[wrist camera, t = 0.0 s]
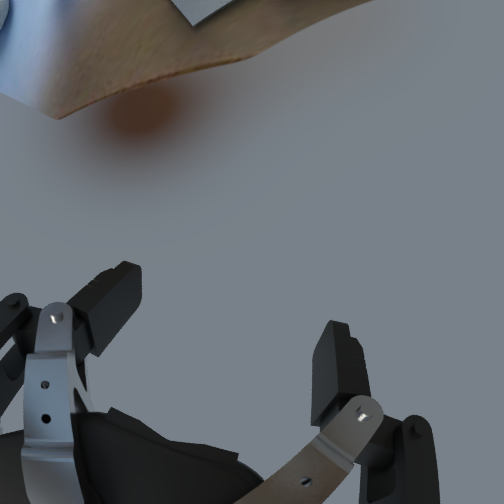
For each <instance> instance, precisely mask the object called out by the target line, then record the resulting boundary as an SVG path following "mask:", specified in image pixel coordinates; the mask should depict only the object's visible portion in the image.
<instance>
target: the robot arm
mask: <svg viewBox="0 0 504 504" xmlns="http://www.w3.org/2000/svg"><path fill="white" fill-rule="evenodd" d="M141 299H142V271H141V267H140V266H139V265H136V264H133V263H130V262H127V261H123V262H121V263H120V264H119V265H118V266H117V267H115V269H112V268H111V269H108V270H106V271H103V272H101V273H100V274H99V275H97V276H96V277H95V278H94V280H92V281H90V282H89V283H88V285H86V286H85V287H83V288H82V289H81V290H80V291H79V292H78V293H77V294H76V295H74V296H73V297H72V298H71V299H70V300H69V301H68V302H67V303H62V302H54V303H51V304H48V305H47V306H45V307H44V308H43V309H41V308H36V307H32V306H29V303H28V300H27V297H26V296H25V295H24V294H21V293H13V294H10V295H8V296H6V297H5V298H4V299H3V300H2V301H0V349H1V348H2V347H3V346H4V345H5V343H6V342H7V341H8V340H9V339H10V338H11V337H12V338H13V340H14V342H15V344H14V345H13V346H12V348H11V349H10V350H9V351H8V352H7V353H6V355H5V356H4V357H3V358H2V360H1V361H0V418H1V416H2V415H3V413H4V411H5V410H6V408H7V407H8V405H9V404H10V402H11V401H12V399H13V398H14V397H15V395H16V394H17V392H18V391H19V389H20V388H21V387H22V385H23V384H24V398H23V399H24V400H23V419H24V420H23V421H24V429H23V430H19V431H15V432H10V433H6V434H2V432H3V429H2V426H1V425H0V504H322V503H323V502H324V501H325V500H326V499H327V498H328V497H329V496H330V495H331V493H332V492H333V491H334V490H335V489H336V488H337V487H338V486H339V484H340V483H341V482H342V481H343V480H344V479H345V477H346V476H347V475H348V474H349V473H350V471H351V470H352V469H353V467H354V464H353V462H354V463H357V464H360V465H361V477H360V494H359V504H440V492H439V480H438V469H437V460H436V453H435V446H434V440H433V434H432V429H431V427H430V424H429V423H428V421H426V420H425V419H424V418H423V417H421V416H418V415H411V416H409V417H407V418H406V419H405V420H404V421H400V420H397V419H394V418H391V417H389V416H386V415H384V414H383V410H382V408H381V406H380V405H379V403H378V402H377V401H376V400H375V399H373V398H371V393H370V386H369V380H368V374H367V369H366V364H365V360H364V353H363V348H362V346H361V345H360V343H359V342H358V340H357V339H356V338H353V337H351V336H350V331H349V326H348V324H346V323H342V322H337V321H332V320H330V321H329V322H328V323H327V325H326V327H325V329H324V332H323V333H322V335H321V337H320V339H319V341H318V343H317V345H316V347H315V350H314V354H313V360H312V361H313V362H312V364H313V366H312V409H311V426H319V427H320V433H319V434H318V435H317V436H316V437H315V438H314V439H313V440H312V441H311V442H310V443H309V444H308V445H306V446H305V447H304V448H303V449H302V450H301V451H300V452H299V453H298V454H297V455H296V456H295V457H293V458H292V459H291V460H290V461H289V462H288V463H286V464H285V465H284V466H283V467H282V468H281V469H279V470H278V471H277V472H276V473H274V474H273V475H272V476H271V477H269V478H268V479H267V480H265V481H264V480H263V478H262V477H261V476H260V475H259V474H258V473H257V472H255V471H254V470H253V469H251V468H250V467H248V466H247V465H245V464H243V463H241V462H239V461H237V459H238V455H239V453H235V452H231V451H227V450H223V449H219V448H216V447H212V446H209V445H205V444H194V443H185V442H176V441H170V440H167V439H165V438H164V437H162V436H161V435H159V434H158V433H156V432H155V431H153V430H152V429H151V428H149V427H148V426H146V425H145V424H144V423H142V422H141V421H140V420H138V419H135V418H133V417H131V416H129V415H127V414H124V413H123V412H121V411H119V410H117V409H115V408H113V407H111V408H110V410H109V411H108V413H102V412H94V408H93V405H92V402H91V397H90V390H89V381H88V371H87V360H86V356H87V355H88V354H89V353H91V354H93V355H95V356H97V357H99V356H100V355H101V353H102V352H103V351H104V349H105V348H106V347H107V346H108V344H109V343H110V342H111V341H112V339H113V338H114V337H115V335H116V334H117V333H118V332H119V331H120V329H121V328H122V327H123V326H124V324H125V323H126V322H127V321H128V319H129V318H130V317H131V316H132V314H133V313H134V312H135V311H136V310H137V308H138V307H139V305H140V302H141ZM0 423H1V421H0Z"/></svg>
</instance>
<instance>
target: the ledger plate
mask: <svg viewBox="0 0 504 504" xmlns="http://www.w3.org/2000/svg"><path fill="white" fill-rule="evenodd" d="M235 1H237V0H172V2H173V3H174V4H175V5H176V6H177V7H178V9H179V10H180V11H181V12H182V13H183V15H184V16H185V17H186V18H187V19H188V21H189V22H190V23H191V24H192V26H198V25H199V24H201V23H202V22H203V21H205V20H206V19H208V18H209V17H211V16H212V15H214V14H215V13H217V12H218V11H220V10H222V9H223V8H225V7H227V6H228V5H230V4H232V3H233V2H235Z"/></svg>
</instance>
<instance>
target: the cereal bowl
mask: <svg viewBox="0 0 504 504" xmlns="http://www.w3.org/2000/svg"><path fill="white" fill-rule="evenodd" d="M8 11H9V0H0V30H1V28H2V26H3V24H4V21H5V19H6V17H7V15H8Z"/></svg>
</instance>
